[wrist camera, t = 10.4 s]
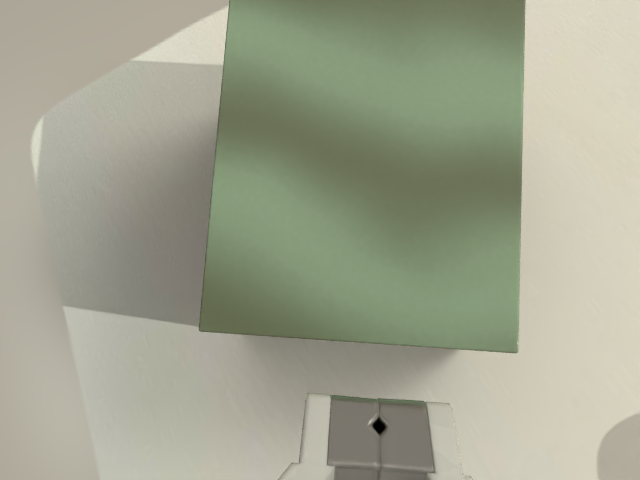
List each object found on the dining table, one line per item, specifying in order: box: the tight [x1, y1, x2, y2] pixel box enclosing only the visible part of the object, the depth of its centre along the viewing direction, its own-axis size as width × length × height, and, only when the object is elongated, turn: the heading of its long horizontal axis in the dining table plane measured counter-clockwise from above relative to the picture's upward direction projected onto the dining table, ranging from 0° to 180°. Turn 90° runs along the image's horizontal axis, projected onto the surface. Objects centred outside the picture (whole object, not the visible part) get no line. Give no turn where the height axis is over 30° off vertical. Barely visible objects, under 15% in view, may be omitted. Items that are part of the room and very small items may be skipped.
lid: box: [199, 0, 525, 353], centre depth 25 cm, size 17×14×1 cm
